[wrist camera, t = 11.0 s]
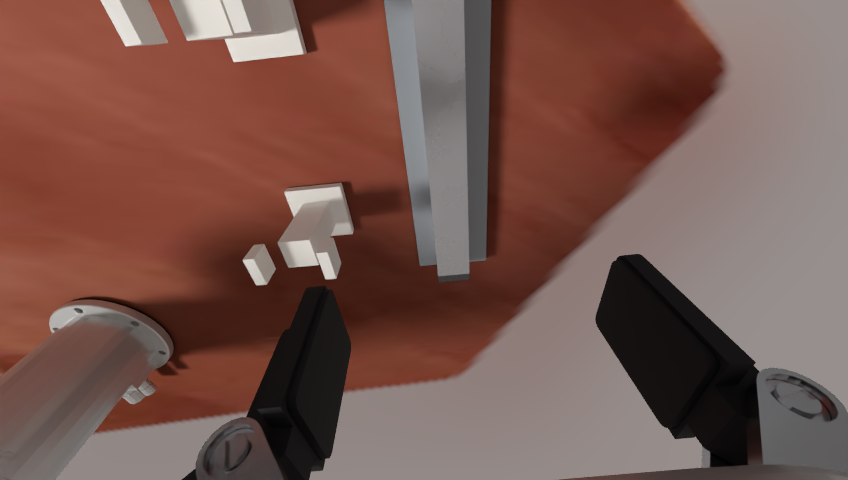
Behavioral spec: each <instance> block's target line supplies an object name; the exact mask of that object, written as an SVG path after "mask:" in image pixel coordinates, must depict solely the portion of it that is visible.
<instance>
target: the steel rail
mask: <svg viewBox="0 0 848 480" xmlns="http://www.w3.org/2000/svg"><path fill="white" fill-rule="evenodd" d="M412 9H413V19H414V29H415V40H416V50H417V61H418V71H419V82H420V92H421V103H422V113H423V124H424V134H425V145H426V155H427V165H428V176H429V186H430V197H431V207H432V218H433V228H434V239H435V249H436V260H437V270H438V280H439V282H450V281H462V280H469V230H468V180H467V130H466V80H465V30H464V0H412Z"/></svg>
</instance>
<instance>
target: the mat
mask: <svg viewBox="0 0 848 480" xmlns="http://www.w3.org/2000/svg"><path fill="white" fill-rule="evenodd" d="M384 5H385V12H386V20H387V27H388V34H389V42H390V49H391V57H392V64H393V71H394V79H395V86H396V94H397V101H398V108H399V116H400V123H401V130H402V138H403V145H404V153H405V160H406V167H407V175H408V182H409V190H410V197H411V204H412V212H413V219H414V227H415V234H416V241H417V249H418V256H419V263H420V266H426V265H437V260H436V249H435V239H434V228H433V218H432V207H431V197H430V186H429V176H428V165H427V155H426V145H425V134H424V124H423V113H422V103H421V92H420V82H419V71H418V61H417V50H416V40H415V29H414V19H413V9H412V0H384ZM464 30H465V80H466V130H467V180H468V230H469V262H472V261H484V260H486V238H487V188H488V139H489V90H490V40H491V0H464Z"/></svg>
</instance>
